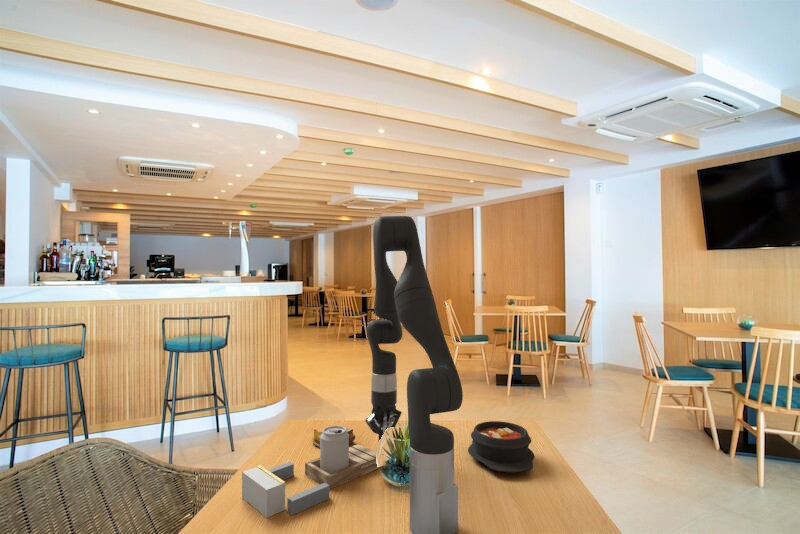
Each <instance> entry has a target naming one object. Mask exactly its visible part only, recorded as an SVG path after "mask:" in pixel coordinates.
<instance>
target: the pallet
mask: <svg viewBox="0 0 800 534" xmlns="http://www.w3.org/2000/svg"><path fill="white" fill-rule="evenodd" d="M304 464H305V465H304V475H305V476H307V477H308V478H310V479H311V480H313V481H315V482H316V483H318V484H319V485H320V484H322V483H326V484H328V485H330V490H331V489H334V488H336V487H338V486H341V485H344V484H345V483H348V482H349V481H353V480H355V479H357V478H360V477H361V476H364V475H366V474H368V473H371V472H373V471H375V470H378V469H379V468H377V464H376V451H374V450H372V449H370V448H367V447H365V446H363V445H361V444H359V443H357V444H355V445H352V446H349V467H348V468H345V469H343V470H340V471H338V472H335V473H333V474H329V473H327V472H325V471H324V470H322V469H320V457H318V458H315V459H313V460H312V459H311V460H310V461H307V462H304Z"/></svg>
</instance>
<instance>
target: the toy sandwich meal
mask: <svg viewBox="0 0 800 534" xmlns="http://www.w3.org/2000/svg"><path fill="white" fill-rule="evenodd" d="M345 428H346V432H347V433H348V434H349V443H351V442H353V441H354V440H355V439H356V435H355V434H354V428H352V427H351V428H349V427H345ZM322 433H323V431H318V430H317V429H316V428H314V429H313V438H312V439H311V442H312V443H313V445H314V446H315V447H317V448H320V436H321V434H322Z"/></svg>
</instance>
